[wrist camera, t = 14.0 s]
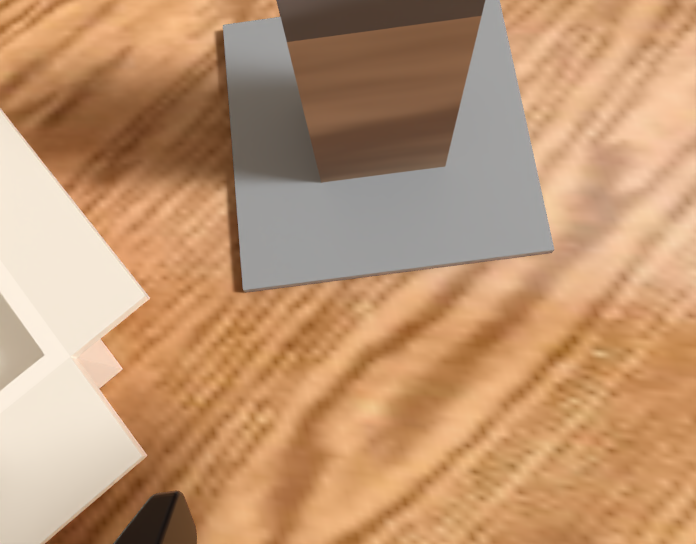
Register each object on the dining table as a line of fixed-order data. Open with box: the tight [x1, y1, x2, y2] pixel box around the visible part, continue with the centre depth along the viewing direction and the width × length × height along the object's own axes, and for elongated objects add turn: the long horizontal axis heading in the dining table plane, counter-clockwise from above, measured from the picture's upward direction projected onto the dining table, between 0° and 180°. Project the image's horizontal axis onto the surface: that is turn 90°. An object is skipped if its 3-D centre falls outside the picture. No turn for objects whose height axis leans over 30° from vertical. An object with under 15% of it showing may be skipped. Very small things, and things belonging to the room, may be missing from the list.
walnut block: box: [277, 0, 485, 183], centre depth 19 cm, size 4×5×12 cm
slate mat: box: [223, 0, 554, 293], centre depth 25 cm, size 12×12×1 cm
